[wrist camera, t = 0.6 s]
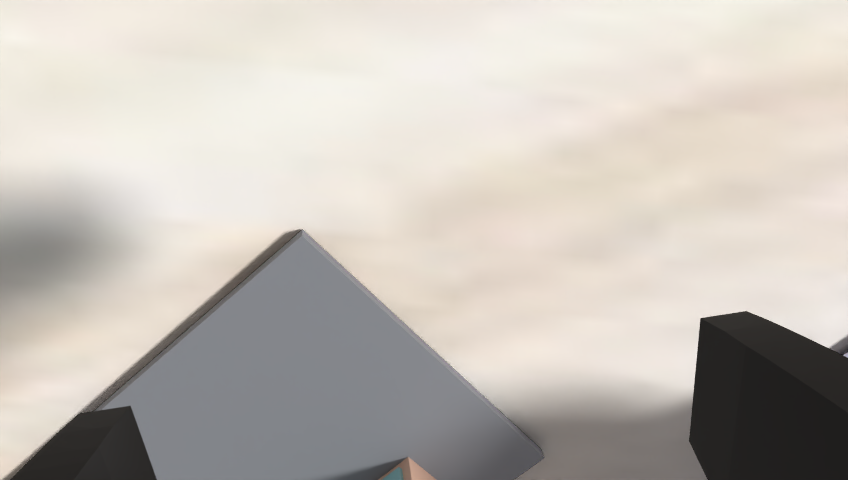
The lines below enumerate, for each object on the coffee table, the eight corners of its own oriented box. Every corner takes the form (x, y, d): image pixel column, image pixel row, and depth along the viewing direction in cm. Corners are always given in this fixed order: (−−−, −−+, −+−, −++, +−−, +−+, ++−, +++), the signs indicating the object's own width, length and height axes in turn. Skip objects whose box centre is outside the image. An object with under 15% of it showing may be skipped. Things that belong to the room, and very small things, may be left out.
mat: (540, 449, 23) (544, 457, 23) (259, 651, 25) (258, 662, 25) (302, 229, 19) (302, 235, 18) (-11, 501, 21) (-17, 511, 21)
